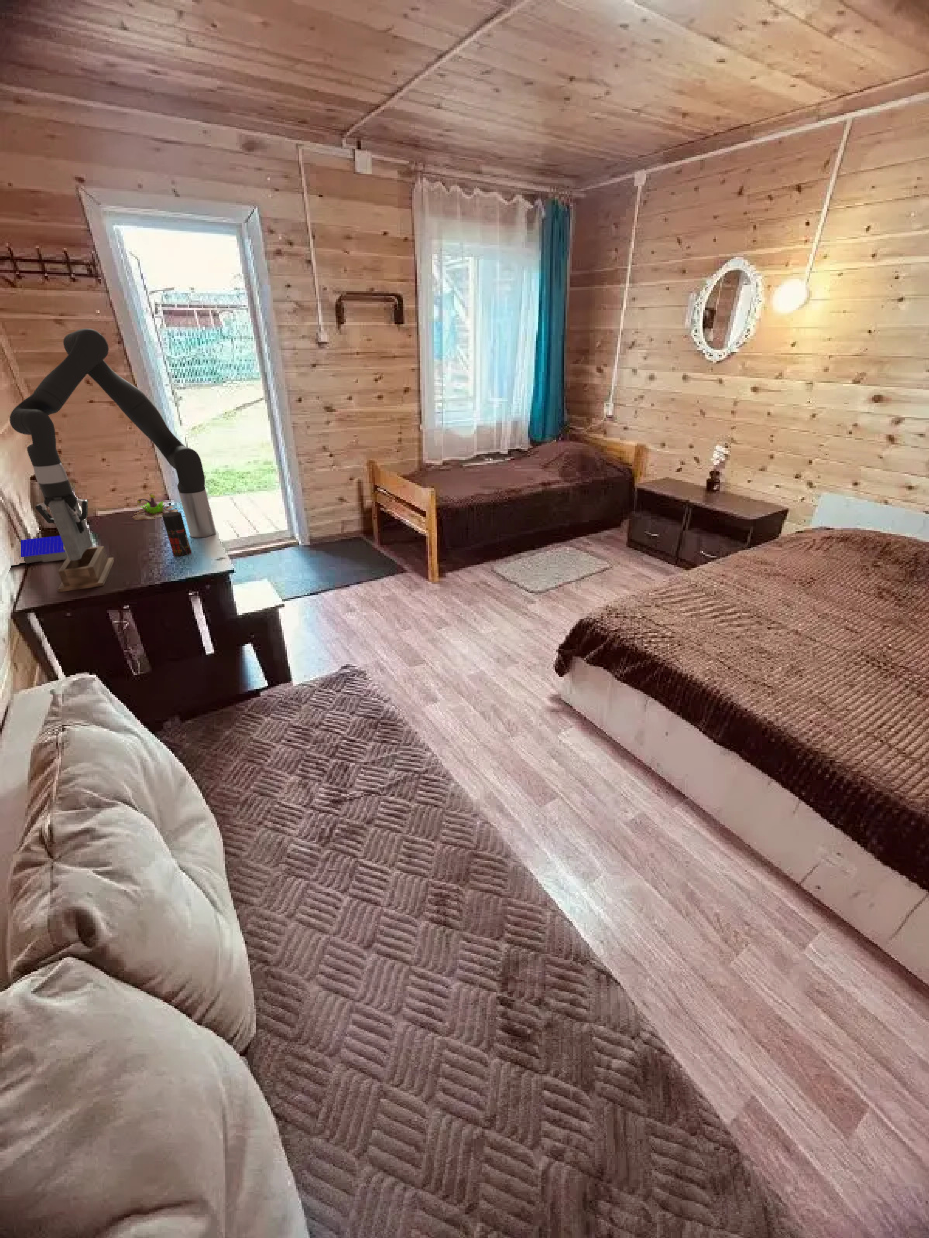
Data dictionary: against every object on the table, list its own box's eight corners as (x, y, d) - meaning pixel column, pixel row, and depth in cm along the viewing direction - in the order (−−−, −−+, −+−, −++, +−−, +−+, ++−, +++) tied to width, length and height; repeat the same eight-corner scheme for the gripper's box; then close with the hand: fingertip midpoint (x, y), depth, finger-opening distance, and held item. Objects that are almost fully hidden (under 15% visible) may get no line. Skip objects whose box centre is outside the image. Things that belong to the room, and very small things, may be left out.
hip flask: (79, 559, 163) (56, 496, 153) (64, 561, 162) (39, 497, 152) (93, 543, 176) (72, 484, 167) (79, 544, 175) (57, 485, 166)
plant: (133, 527, 218) (125, 501, 213) (128, 516, 232) (120, 491, 227) (185, 519, 228) (178, 493, 223) (177, 508, 242) (171, 484, 237)
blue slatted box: (77, 547, 196) (70, 528, 193) (68, 560, 185) (60, 540, 182) (6, 555, 189) (-3, 536, 186) (-8, 569, 178) (-18, 549, 174)
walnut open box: (114, 560, 184) (108, 543, 182) (103, 585, 165) (97, 568, 162) (74, 565, 180) (68, 548, 177) (58, 592, 161) (51, 574, 158)
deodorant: (172, 553, 190) (161, 513, 183) (190, 550, 193) (180, 510, 185) (174, 558, 185) (162, 517, 178) (192, 555, 188) (181, 515, 181)
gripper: (82, 474, 163) (101, 527, 172) (28, 479, 158) (49, 533, 167) (78, 480, 157) (97, 534, 165) (20, 484, 152) (43, 540, 160)
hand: (73, 533), depth 166 cm, fingers closed on hip flask, 4 cm apart
